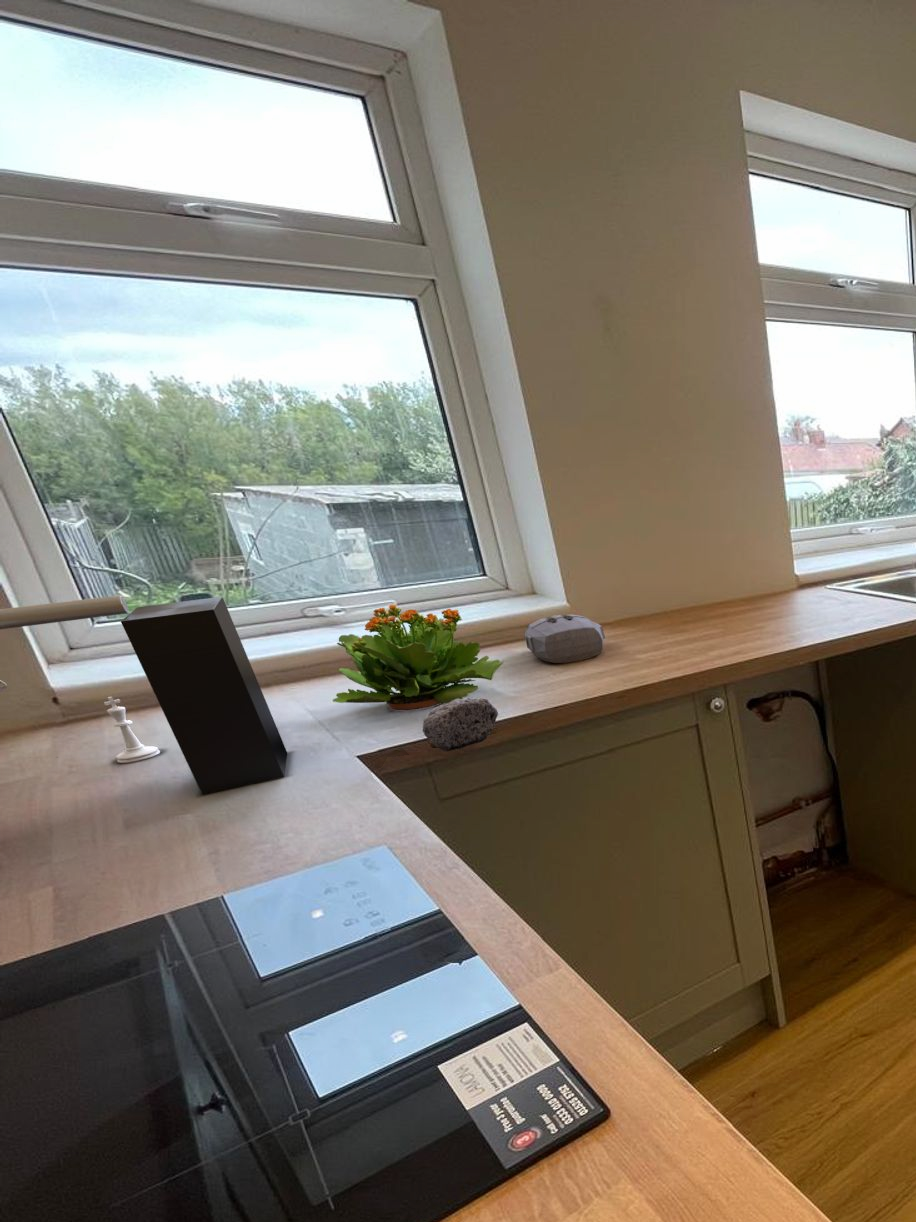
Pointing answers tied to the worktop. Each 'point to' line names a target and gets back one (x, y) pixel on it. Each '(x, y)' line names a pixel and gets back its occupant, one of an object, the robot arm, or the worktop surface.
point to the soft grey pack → (564, 638)
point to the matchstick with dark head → (62, 611)
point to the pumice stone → (460, 723)
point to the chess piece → (129, 736)
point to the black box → (208, 692)
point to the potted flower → (412, 661)
